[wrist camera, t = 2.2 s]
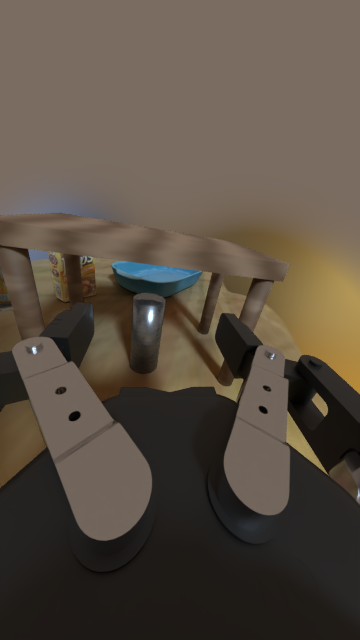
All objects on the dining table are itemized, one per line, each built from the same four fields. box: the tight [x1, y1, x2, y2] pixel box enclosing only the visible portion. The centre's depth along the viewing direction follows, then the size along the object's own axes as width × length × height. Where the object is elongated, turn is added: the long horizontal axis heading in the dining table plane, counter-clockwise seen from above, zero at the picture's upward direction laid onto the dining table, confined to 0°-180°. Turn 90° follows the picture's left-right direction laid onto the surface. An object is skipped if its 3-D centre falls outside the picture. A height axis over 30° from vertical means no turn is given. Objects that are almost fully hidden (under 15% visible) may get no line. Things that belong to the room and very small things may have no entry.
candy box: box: [48, 251, 96, 302], centre depth 46 cm, size 9×4×15 cm, turn 147°
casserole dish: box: [111, 261, 203, 298], centre depth 67 cm, size 37×22×7 cm, turn 149°
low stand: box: [0, 213, 290, 386], centre depth 31 cm, size 30×18×20 cm, turn 98°
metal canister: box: [130, 293, 166, 374], centre depth 29 cm, size 4×4×12 cm
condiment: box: [0, 267, 13, 310], centre depth 40 cm, size 7×8×12 cm
